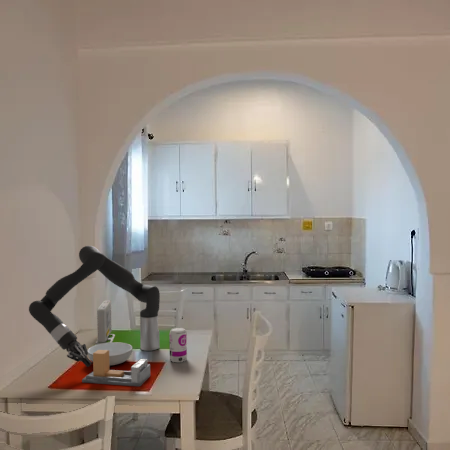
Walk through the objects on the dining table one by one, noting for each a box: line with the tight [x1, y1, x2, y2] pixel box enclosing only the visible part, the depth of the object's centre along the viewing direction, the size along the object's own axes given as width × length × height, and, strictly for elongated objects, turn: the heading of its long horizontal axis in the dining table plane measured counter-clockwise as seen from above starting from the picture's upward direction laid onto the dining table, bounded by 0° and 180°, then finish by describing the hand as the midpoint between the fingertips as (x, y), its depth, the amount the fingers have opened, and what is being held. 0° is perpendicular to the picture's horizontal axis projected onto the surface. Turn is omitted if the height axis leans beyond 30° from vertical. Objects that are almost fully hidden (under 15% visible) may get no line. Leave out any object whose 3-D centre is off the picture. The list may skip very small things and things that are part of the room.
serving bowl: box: [87, 341, 133, 367], centre depth 215 cm, size 21×21×7 cm
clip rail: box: [81, 358, 151, 387], centre depth 193 cm, size 26×12×8 cm, turn 79°
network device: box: [95, 300, 116, 345], centre depth 253 cm, size 26×9×20 cm, turn 6°
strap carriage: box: [92, 350, 125, 377], centre depth 194 cm, size 12×5×10 cm, turn 79°
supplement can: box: [168, 327, 188, 363], centre depth 217 cm, size 8×8×15 cm
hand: (89, 365), depth 196 cm, fingers closed
